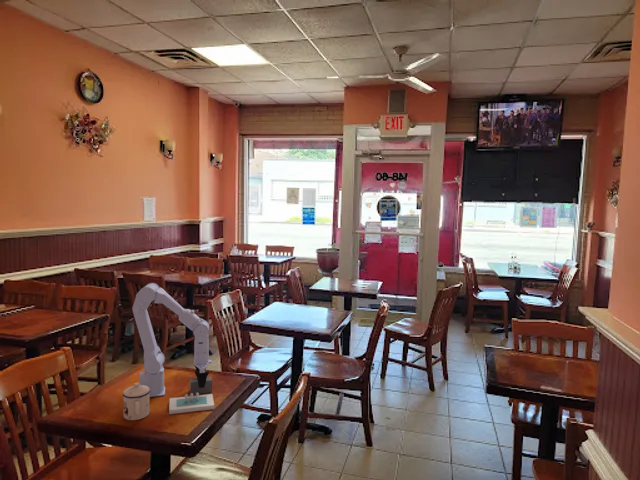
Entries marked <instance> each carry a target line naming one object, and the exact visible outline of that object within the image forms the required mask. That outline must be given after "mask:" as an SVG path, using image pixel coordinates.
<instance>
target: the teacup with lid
mask: <svg viewBox="0 0 640 480" xmlns="http://www.w3.org/2000/svg"><path fill="white" fill-rule="evenodd" d="M149 393H150V389H149V387H147V386H144V385H140V384H139V382H135V383H133V385H131V386H130V387H127V388H126V389H124V390H123V392H122V399H123V402H122V403H123V410H122V411H123V413H122V414H123V416H122V417H123V418H124V419H125V420H127V421H137V420H138V421H139V420H141V419H142V420H143V419H144V418H146V417H147V416H149V415H150V397H149Z"/></svg>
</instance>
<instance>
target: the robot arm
mask: <svg viewBox="0 0 640 480" xmlns="http://www.w3.org/2000/svg"><path fill="white" fill-rule="evenodd" d="M153 301H154V302H153ZM151 303H154V304H161V305H164V306H165V307H166V308H168V309H169V310H171V312H173V313H175V314H176V315H177V316H178V320H179V322H180V323H182V325H184V326H186V328H188V329H189V330H190V331H192V334H193V337H194V349H193V351H194V355H193V359H194V361H193V366H194V367H195V370H194V375H195V376H196V377H195V378H197V379H198V385H199V388H204V387H205V383H206V379H207V377H209V376H208V375H209V374H210V369H207V367H208V366H209V365H210V364H212V363H213V362H212V359H209V358H210V355H209V354H210V353H209V352H210V351H209V350H210V348H209V347H210V339H209V337H210V336H209V331H210V324H209V322H208V321H207V320H205V319H203V317H202V318H201V317H199V316H198V315H197V314H196V313H195V310H194V309H190V308H184V307H183V306H182V305H181V304H180V303H178V302H177V301H176V299H174V298H173V297H172V296H171V295H170V294H169V293H168V292H167V291H165V290H164V288H162V287H161V286H159V285H158V284H157V283H155V282H150V283H147V284H146V285H145V286H144V287H142V288H140V290H139V291H138V292H137V293H136V295H135V299H134V302H133V305H132V313H133V316H134V320H135V324H136V327H137V330H138V333H139V337H140V341H141V345H142V347H143V361H144V364H143V370H144V371H140V372H139V377H138V378H139V380H138V381H139V382H138V383H139V384H140V385H144V386H147V387H149V389H150V393H149V398H152V397H162V396H165V394H166V386H165V368H164V365H163V364H164V363H165V360H166V356H165V354H164V353H163V352H162V351H161V348H160V346H159V345H158V342H157V341H156V337H155V333H154V328H153V325H152V322H151V319H150V315H149V312H148V308H149V306H150V305H151ZM206 369H207V370H206Z"/></svg>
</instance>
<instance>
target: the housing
mask: <svg viewBox="0 0 640 480" xmlns="http://www.w3.org/2000/svg"><path fill="white" fill-rule="evenodd" d="M191 393H193V395H196V393H199V395H201V394H211V393H213V377H212V376H207V379H206V383H205V387H204V388H199V385H198V379H197V377H193V378H192V377H191V378H189V395H190V394H191Z"/></svg>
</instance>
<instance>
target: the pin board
mask: <svg viewBox="0 0 640 480" xmlns="http://www.w3.org/2000/svg"><path fill="white" fill-rule="evenodd" d="M168 407H169V408H168V415H174V414H175V415H176V414H183V413H184V414H185V413H191V412H192V413H193V412H200V411H210V410H215V402H214V395H213V393H206V394H199V393H196V394H195V395H194V394H193V393H191V394H190V393H189V394H188V393H185V394H184V396H180V397H179V396H178V397H170V398H169V404H168Z"/></svg>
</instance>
